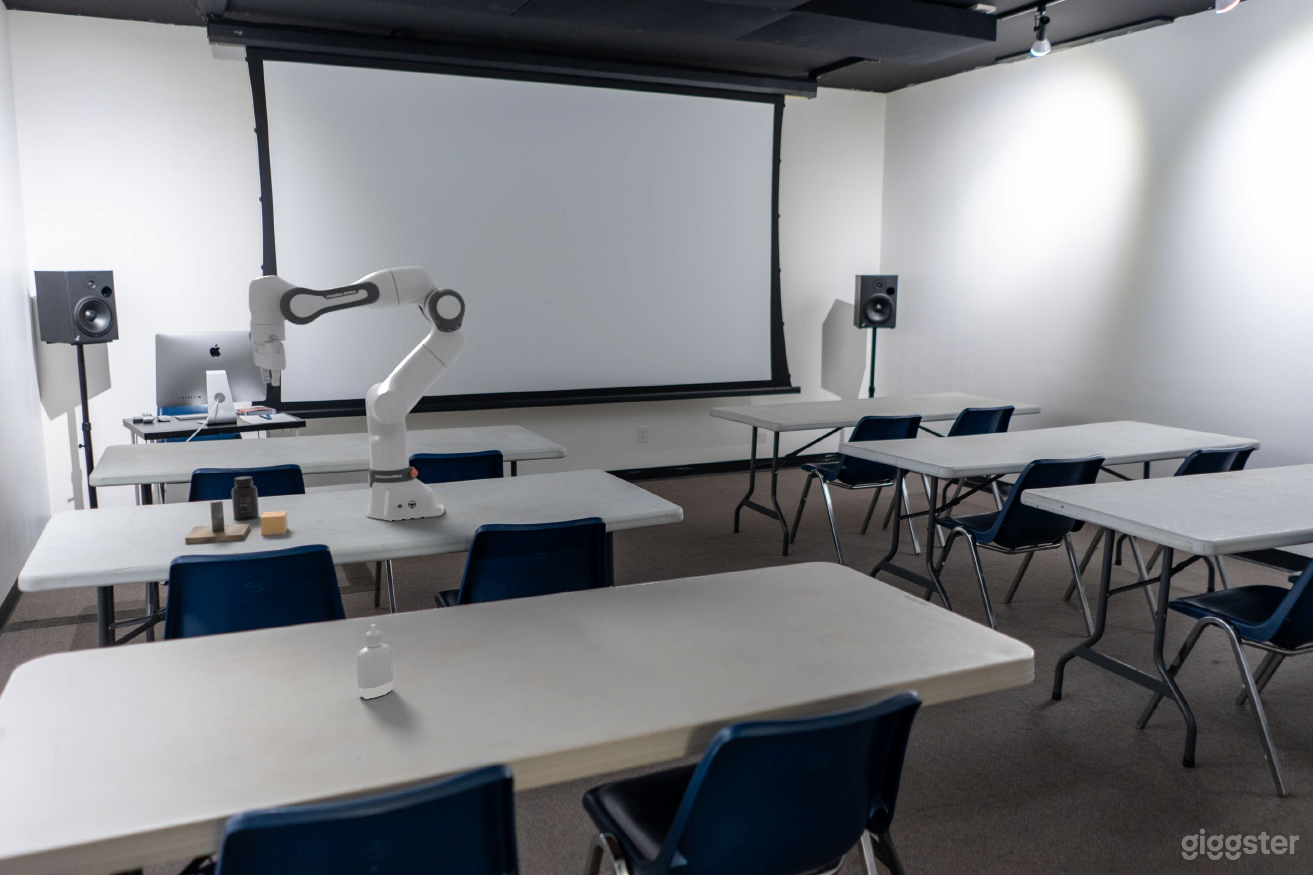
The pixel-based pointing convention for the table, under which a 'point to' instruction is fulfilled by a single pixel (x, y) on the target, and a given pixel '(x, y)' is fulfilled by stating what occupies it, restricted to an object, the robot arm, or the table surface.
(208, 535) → the post board
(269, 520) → the peach wooden cube
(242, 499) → the supplement bottle
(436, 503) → the robot arm
